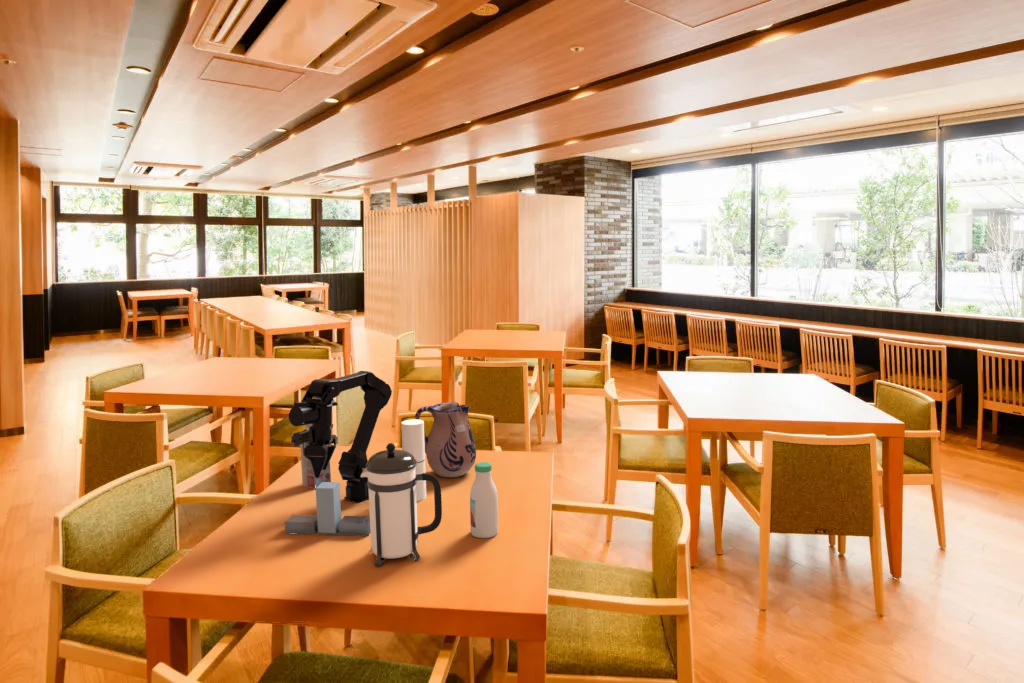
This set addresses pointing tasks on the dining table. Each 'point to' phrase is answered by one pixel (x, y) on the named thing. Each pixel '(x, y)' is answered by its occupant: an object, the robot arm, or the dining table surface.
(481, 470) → the milk bottle
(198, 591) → the dining table surface
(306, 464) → the juice carton
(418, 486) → the cylindrical container
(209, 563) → the dining table surface
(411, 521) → the coffee press
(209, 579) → the dining table surface
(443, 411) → the ceramic pitcher
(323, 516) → the peg
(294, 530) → the rail
